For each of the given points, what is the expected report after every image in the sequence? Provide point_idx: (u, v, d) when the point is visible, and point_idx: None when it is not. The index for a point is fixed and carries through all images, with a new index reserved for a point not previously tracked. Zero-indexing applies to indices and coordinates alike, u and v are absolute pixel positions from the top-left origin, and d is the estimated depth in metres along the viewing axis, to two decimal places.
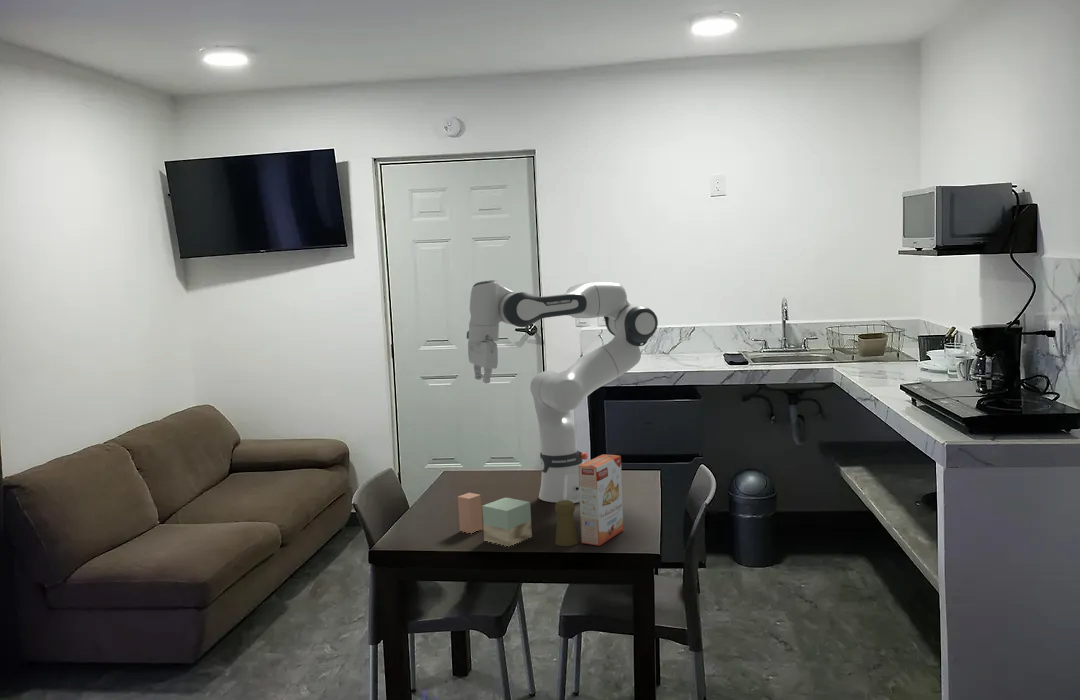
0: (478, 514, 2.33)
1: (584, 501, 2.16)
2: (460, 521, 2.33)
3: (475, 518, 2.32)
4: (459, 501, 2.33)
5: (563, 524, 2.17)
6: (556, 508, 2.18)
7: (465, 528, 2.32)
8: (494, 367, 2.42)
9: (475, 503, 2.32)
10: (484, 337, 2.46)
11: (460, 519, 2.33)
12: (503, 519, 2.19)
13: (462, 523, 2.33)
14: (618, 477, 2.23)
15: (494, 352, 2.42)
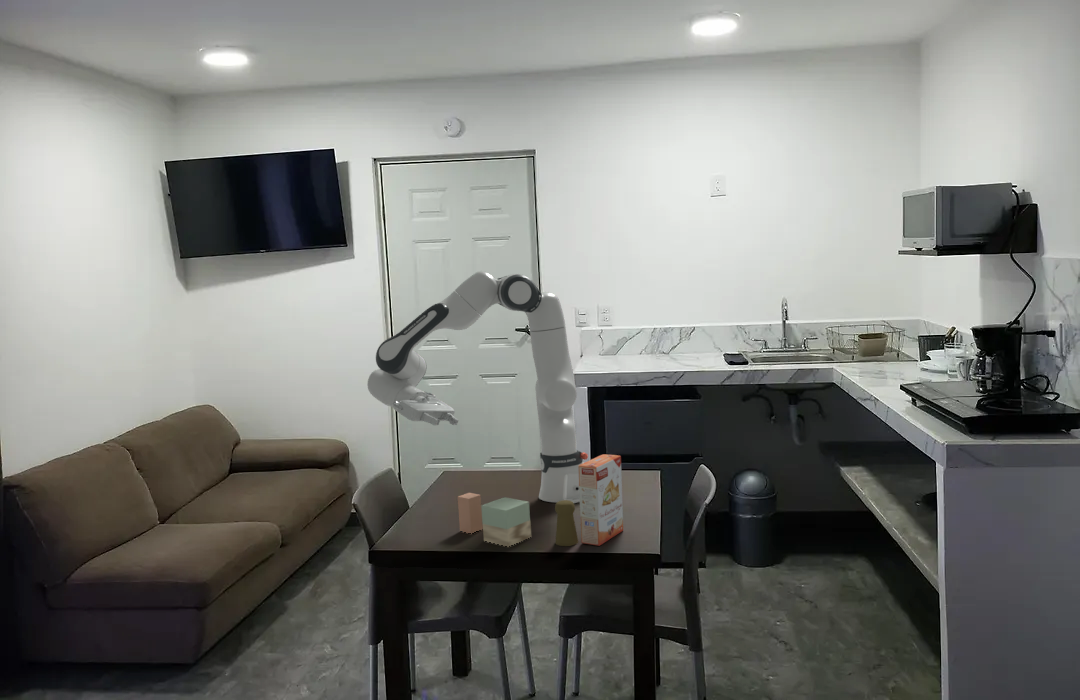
0: (478, 514, 2.33)
1: (584, 501, 2.16)
2: (460, 521, 2.33)
3: (475, 518, 2.32)
4: (459, 501, 2.33)
5: (563, 524, 2.17)
6: (556, 508, 2.18)
7: (465, 528, 2.32)
8: (415, 412, 2.34)
9: (475, 503, 2.32)
10: None
11: (460, 519, 2.33)
12: (502, 518, 2.19)
13: (462, 523, 2.33)
14: (618, 477, 2.23)
15: (403, 406, 2.36)
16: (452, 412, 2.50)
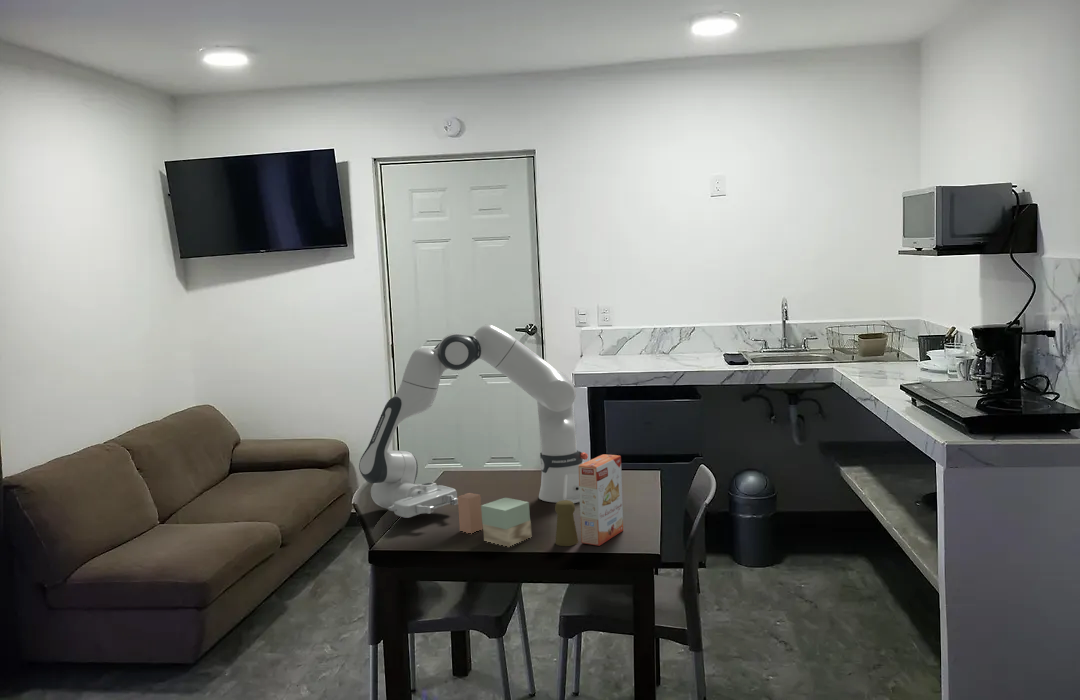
0: (478, 514, 2.33)
1: (584, 501, 2.16)
2: (460, 521, 2.33)
3: (475, 518, 2.32)
4: (459, 501, 2.33)
5: (563, 524, 2.17)
6: (556, 508, 2.18)
7: (465, 528, 2.32)
8: (406, 509, 2.37)
9: (475, 503, 2.32)
10: None
11: (460, 519, 2.33)
12: (501, 518, 2.19)
13: (462, 523, 2.33)
14: (618, 477, 2.23)
15: (396, 507, 2.40)
16: (453, 492, 2.50)
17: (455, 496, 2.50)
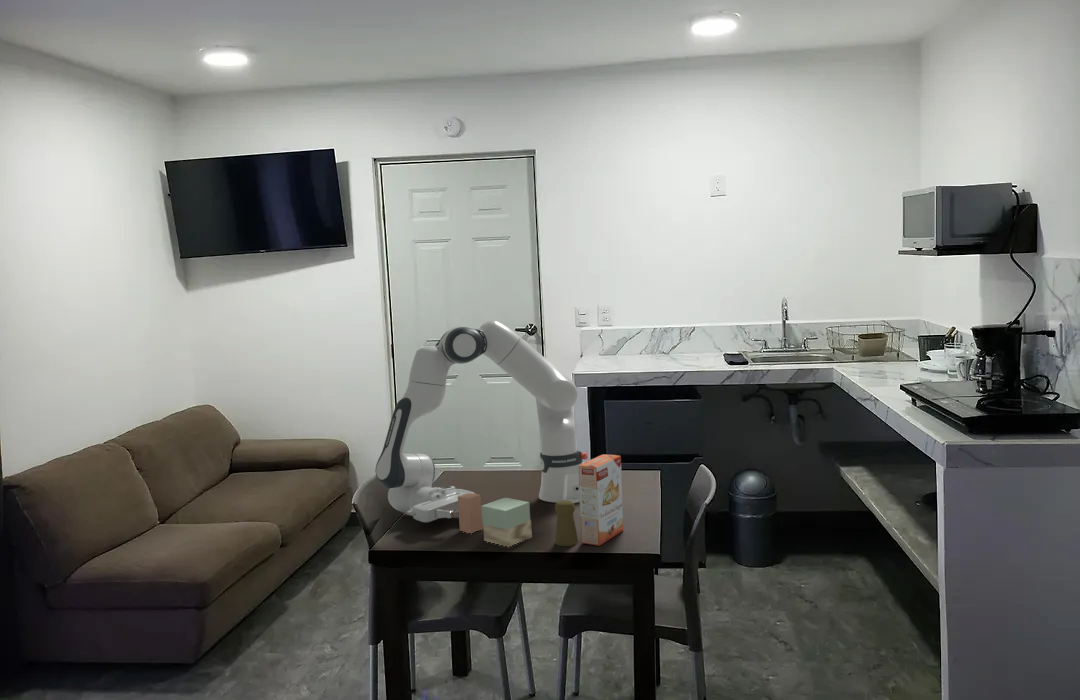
0: (478, 514, 2.33)
1: (584, 501, 2.16)
2: (460, 521, 2.33)
3: (475, 518, 2.32)
4: (459, 501, 2.33)
5: (563, 524, 2.17)
6: (556, 508, 2.18)
7: (465, 528, 2.32)
8: (425, 513, 2.31)
9: (475, 503, 2.32)
10: None
11: (460, 519, 2.33)
12: (502, 519, 2.19)
13: (462, 523, 2.33)
14: (618, 477, 2.23)
15: (415, 511, 2.34)
16: None
17: None
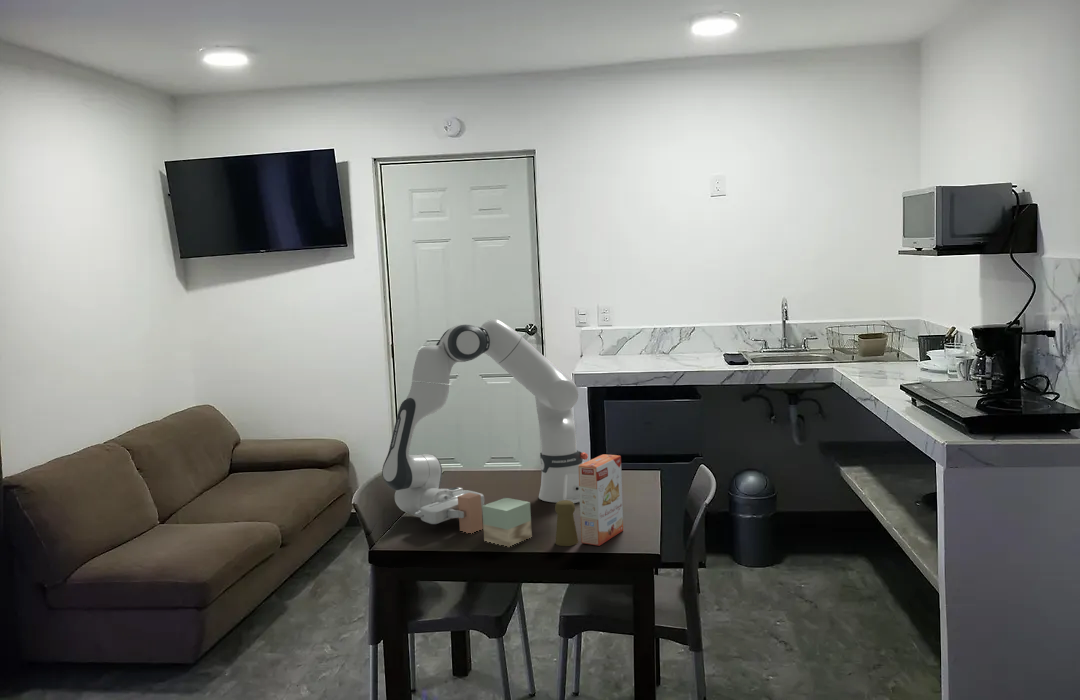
0: (478, 514, 2.33)
1: (584, 501, 2.16)
2: (460, 521, 2.33)
3: (475, 518, 2.32)
4: (459, 501, 2.33)
5: (563, 523, 2.17)
6: (556, 508, 2.18)
7: (465, 528, 2.32)
8: (433, 515, 2.29)
9: (475, 503, 2.32)
10: None
11: (460, 519, 2.33)
12: (503, 519, 2.19)
13: (462, 523, 2.33)
14: (618, 477, 2.23)
15: (423, 513, 2.32)
16: None
17: (482, 501, 2.43)
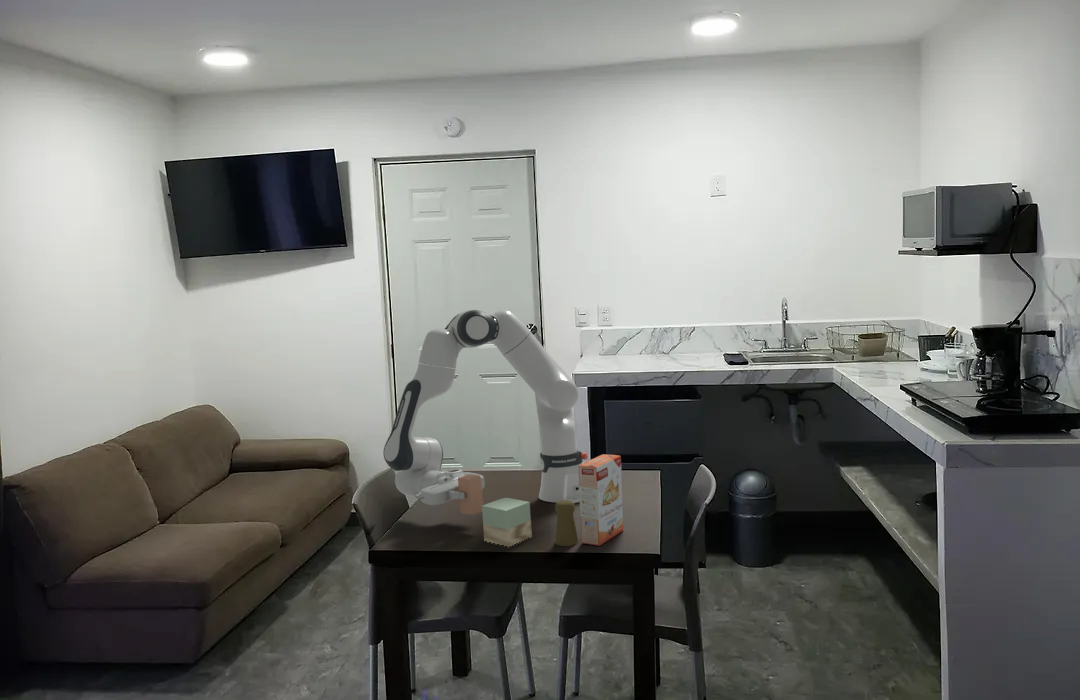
0: (478, 495, 2.33)
1: (584, 501, 2.16)
2: (461, 502, 2.33)
3: (476, 499, 2.32)
4: (459, 482, 2.32)
5: (563, 524, 2.17)
6: (556, 508, 2.18)
7: (466, 509, 2.32)
8: (434, 496, 2.29)
9: (475, 484, 2.32)
10: None
11: (461, 500, 2.33)
12: (502, 519, 2.19)
13: (462, 504, 2.33)
14: (618, 477, 2.23)
15: (423, 495, 2.31)
16: (481, 479, 2.42)
17: (483, 483, 2.42)
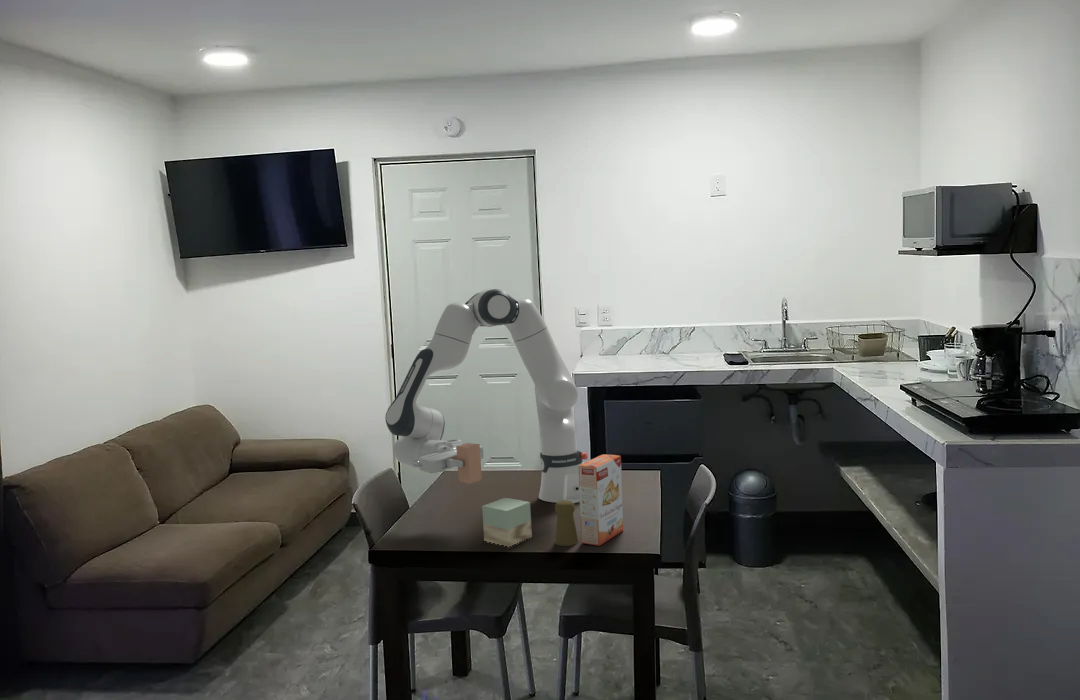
0: (477, 464, 2.31)
1: (584, 501, 2.16)
2: (459, 471, 2.31)
3: (474, 468, 2.30)
4: (458, 450, 2.31)
5: (563, 524, 2.17)
6: (556, 508, 2.18)
7: (464, 477, 2.30)
8: (432, 464, 2.27)
9: (474, 452, 2.30)
10: None
11: (459, 469, 2.31)
12: (503, 519, 2.19)
13: (460, 473, 2.31)
14: (618, 477, 2.23)
15: (421, 462, 2.30)
16: (480, 449, 2.40)
17: (482, 453, 2.41)
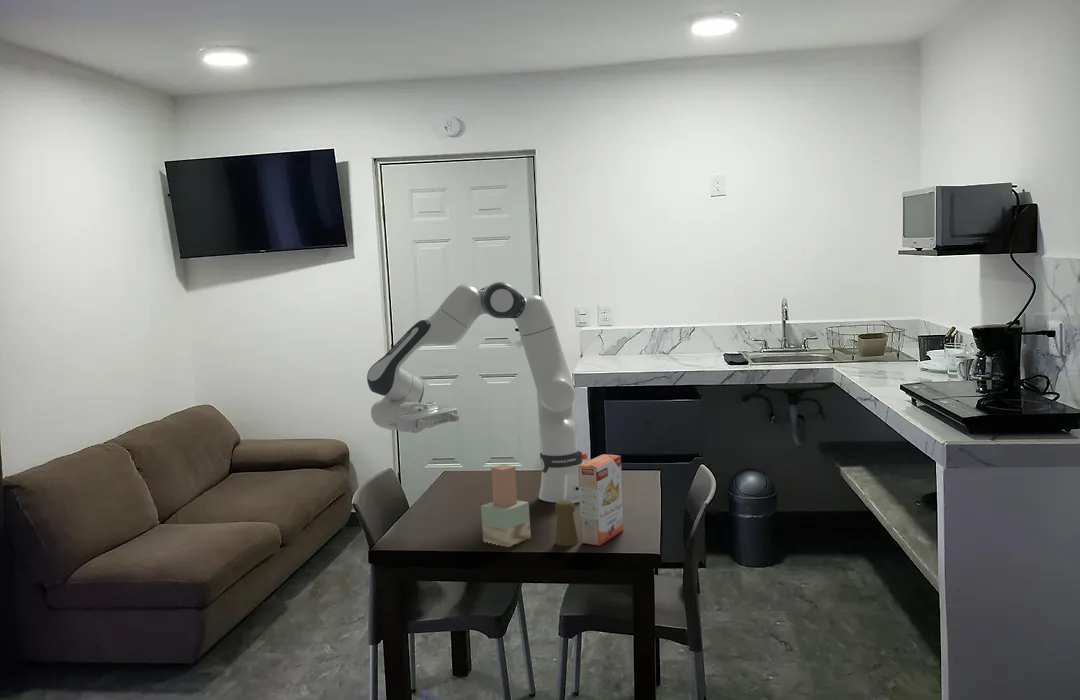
0: (512, 487, 2.22)
1: (584, 501, 2.16)
2: (493, 493, 2.23)
3: (509, 491, 2.21)
4: (493, 472, 2.22)
5: (563, 524, 2.17)
6: (556, 508, 2.18)
7: (498, 501, 2.22)
8: (406, 423, 2.34)
9: (509, 475, 2.21)
10: None
11: (493, 491, 2.23)
12: (501, 519, 2.18)
13: (495, 495, 2.23)
14: (618, 477, 2.23)
15: (396, 422, 2.37)
16: (454, 411, 2.47)
17: (456, 415, 2.47)
